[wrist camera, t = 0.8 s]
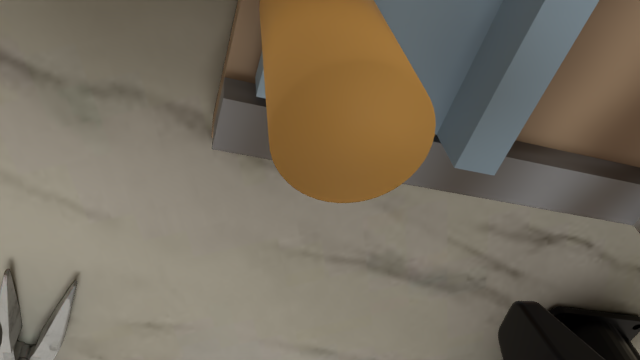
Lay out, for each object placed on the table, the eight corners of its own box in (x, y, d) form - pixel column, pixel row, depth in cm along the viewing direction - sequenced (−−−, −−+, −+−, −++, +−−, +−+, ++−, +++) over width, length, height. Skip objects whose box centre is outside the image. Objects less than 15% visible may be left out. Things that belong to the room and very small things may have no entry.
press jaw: (549, -48, 17) (747, 68, 10) (461, 122, 20) (566, 291, 14) (286, -136, 15) (322, -59, 8) (237, 72, 18) (235, 246, 12)
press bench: (860, -39, 20) (1072, 27, 15) (656, 203, 27) (754, 307, 22) (294, -266, 14) (324, -286, 9) (213, 116, 21) (203, 229, 16)
